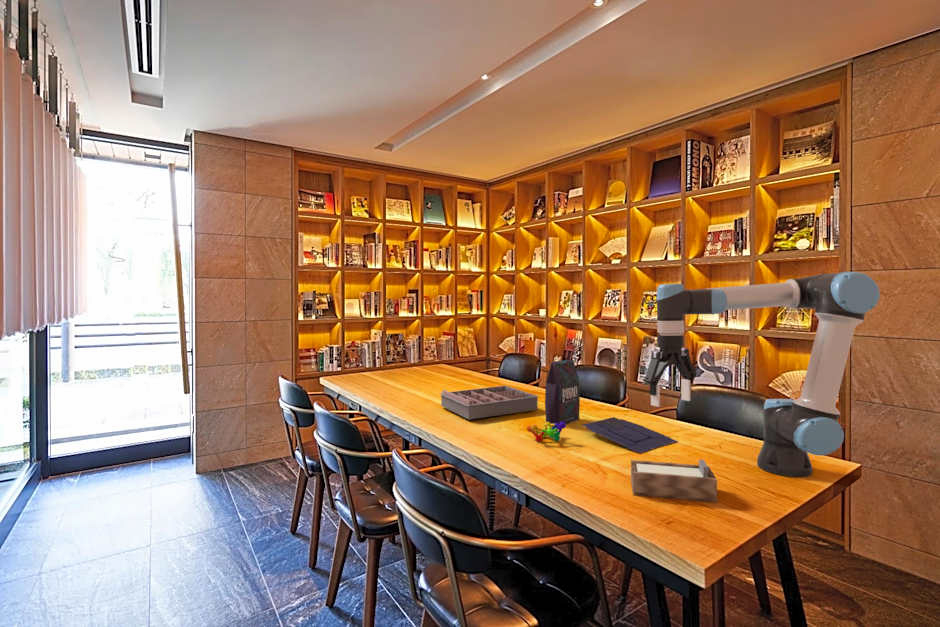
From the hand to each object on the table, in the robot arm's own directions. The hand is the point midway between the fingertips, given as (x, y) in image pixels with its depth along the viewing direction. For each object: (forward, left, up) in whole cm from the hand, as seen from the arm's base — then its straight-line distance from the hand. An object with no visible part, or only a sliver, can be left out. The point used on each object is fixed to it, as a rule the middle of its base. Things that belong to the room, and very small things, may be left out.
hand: (670, 403), depth 147 cm
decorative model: (+42, -33, -25) cm, 58 cm away
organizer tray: (+76, -76, -25) cm, 110 cm away
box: (+1, +8, -24) cm, 26 cm away
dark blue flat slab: (+11, -43, -25) cm, 51 cm away
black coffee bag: (+38, -62, -25) cm, 76 cm away
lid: (+1, +8, -19) cm, 21 cm away
